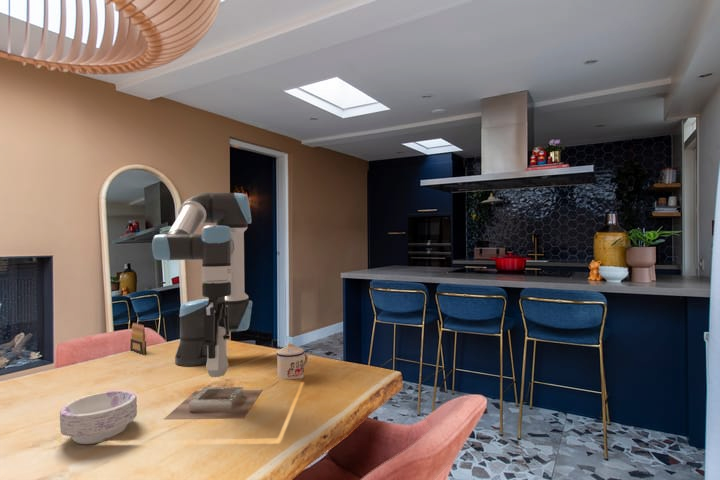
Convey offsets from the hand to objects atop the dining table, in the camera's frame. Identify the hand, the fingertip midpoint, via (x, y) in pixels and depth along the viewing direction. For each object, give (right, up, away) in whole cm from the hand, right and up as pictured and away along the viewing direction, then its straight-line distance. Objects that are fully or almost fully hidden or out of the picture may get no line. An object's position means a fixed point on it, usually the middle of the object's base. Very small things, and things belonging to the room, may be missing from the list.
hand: (217, 366), depth 112 cm
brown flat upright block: (-54, -13, +60) cm, 82 cm away
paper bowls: (-22, -11, -16) cm, 29 cm away
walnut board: (0, -11, 0) cm, 11 cm away
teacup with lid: (+17, -12, +25) cm, 32 cm away
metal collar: (0, -10, 0) cm, 10 cm away
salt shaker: (0, -3, 0) cm, 3 cm away
